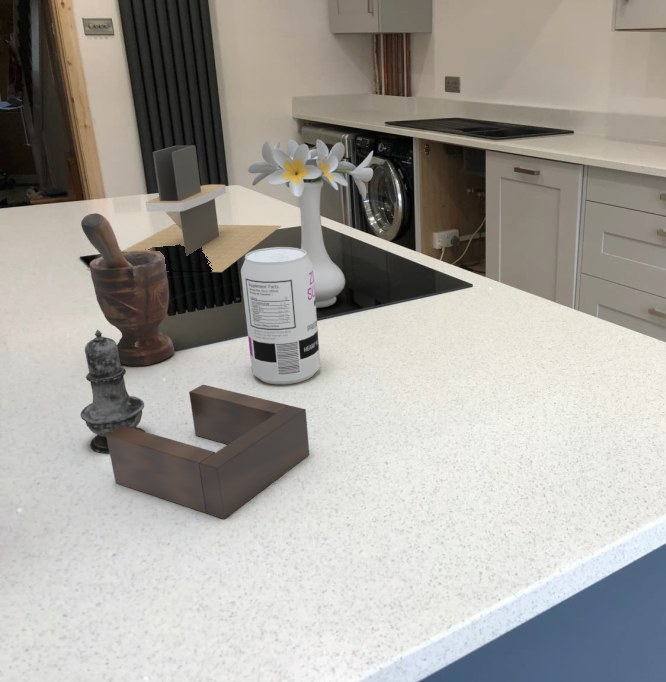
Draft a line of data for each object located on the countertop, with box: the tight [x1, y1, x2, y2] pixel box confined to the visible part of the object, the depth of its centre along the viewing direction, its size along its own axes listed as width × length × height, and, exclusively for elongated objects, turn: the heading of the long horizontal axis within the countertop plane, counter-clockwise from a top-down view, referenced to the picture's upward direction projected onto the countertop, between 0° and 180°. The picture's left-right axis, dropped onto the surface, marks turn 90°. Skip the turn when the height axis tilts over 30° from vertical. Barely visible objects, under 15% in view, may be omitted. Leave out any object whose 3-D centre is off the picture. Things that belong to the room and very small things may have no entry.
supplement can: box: [240, 246, 321, 385], centre depth 88 cm, size 8×8×15 cm
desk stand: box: [106, 384, 310, 520], centre depth 69 cm, size 13×12×5 cm
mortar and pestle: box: [80, 212, 175, 367], centre depth 90 cm, size 12×9×20 cm
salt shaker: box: [80, 329, 146, 454], centre depth 73 cm, size 6×6×12 cm
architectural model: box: [86, 145, 281, 273], centre depth 147 cm, size 38×25×20 cm, turn 177°
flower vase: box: [247, 139, 374, 309], centre depth 112 cm, size 13×18×25 cm
